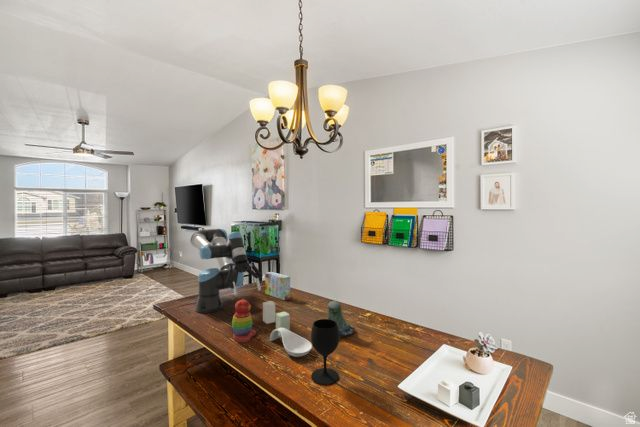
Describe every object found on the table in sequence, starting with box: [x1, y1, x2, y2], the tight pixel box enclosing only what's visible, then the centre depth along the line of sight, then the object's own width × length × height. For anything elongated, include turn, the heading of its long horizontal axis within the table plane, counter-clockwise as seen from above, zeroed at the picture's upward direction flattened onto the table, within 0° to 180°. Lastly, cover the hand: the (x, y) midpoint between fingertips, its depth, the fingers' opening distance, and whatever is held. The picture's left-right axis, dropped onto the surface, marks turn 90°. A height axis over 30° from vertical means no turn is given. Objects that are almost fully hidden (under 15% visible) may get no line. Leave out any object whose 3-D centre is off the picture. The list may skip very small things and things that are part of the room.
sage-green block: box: [275, 310, 291, 338], centre depth 144 cm, size 5×5×10 cm
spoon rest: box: [269, 328, 313, 358], centre depth 130 cm, size 24×12×7 cm, turn 46°
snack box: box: [264, 271, 291, 301], centre depth 201 cm, size 21×6×15 cm, turn 46°
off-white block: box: [262, 300, 276, 325], centre depth 159 cm, size 5×5×10 cm
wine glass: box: [310, 318, 340, 386], centre depth 109 cm, size 10×10×20 cm
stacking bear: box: [231, 298, 257, 344], centre depth 141 cm, size 11×10×18 cm
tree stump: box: [327, 300, 356, 338], centre depth 146 cm, size 18×20×18 cm
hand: (247, 292), depth 161 cm, fingers open, 13 cm apart
